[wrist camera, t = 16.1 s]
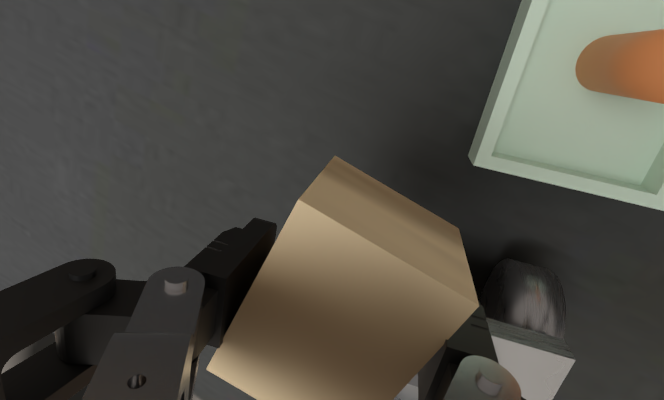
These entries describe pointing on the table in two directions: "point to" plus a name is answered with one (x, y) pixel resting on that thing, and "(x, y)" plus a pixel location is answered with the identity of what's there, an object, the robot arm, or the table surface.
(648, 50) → the pin
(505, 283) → the trolley
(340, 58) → the table surface
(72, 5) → the table surface
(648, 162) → the tray
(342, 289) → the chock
